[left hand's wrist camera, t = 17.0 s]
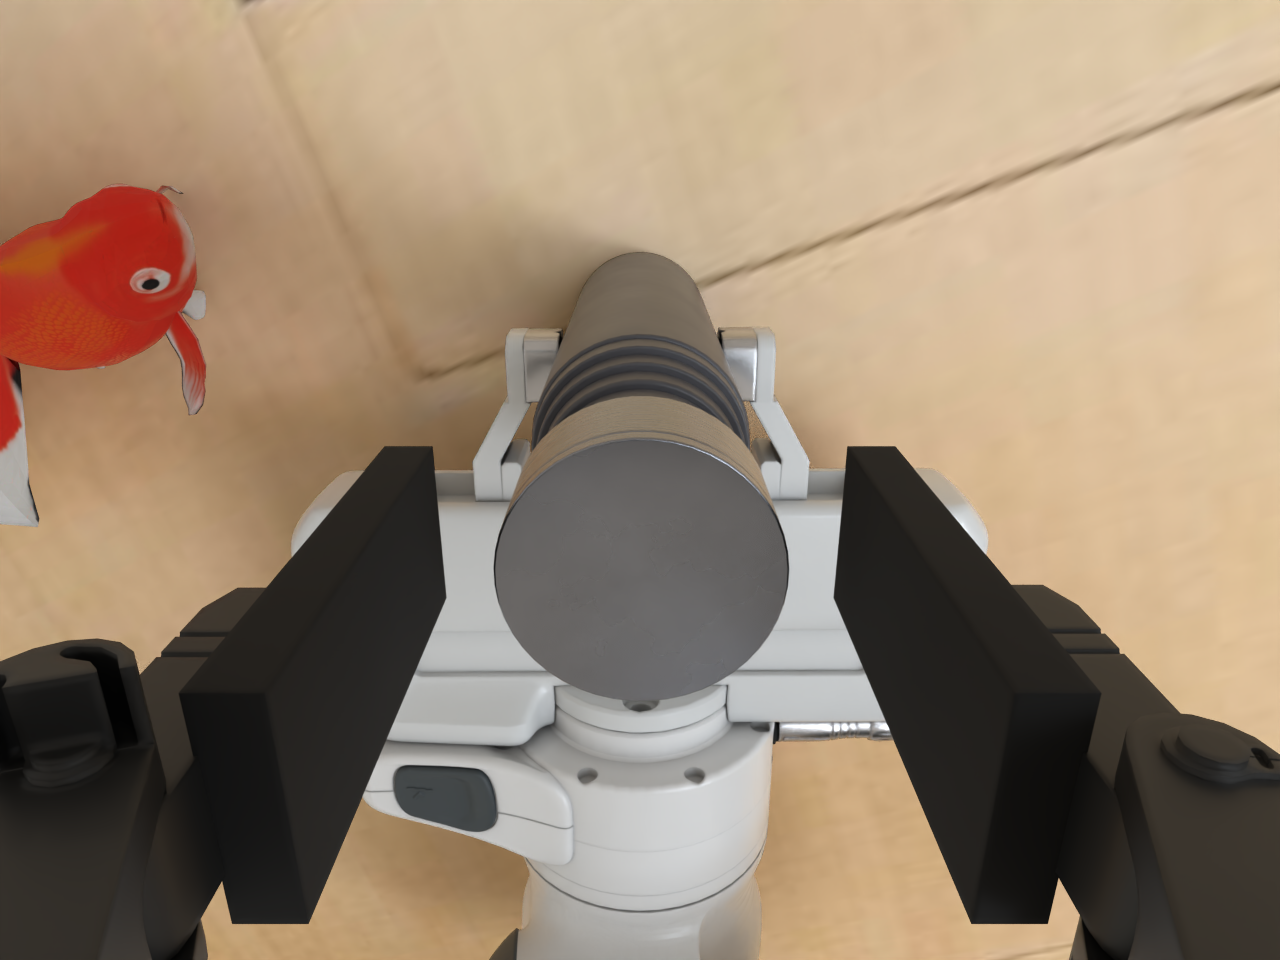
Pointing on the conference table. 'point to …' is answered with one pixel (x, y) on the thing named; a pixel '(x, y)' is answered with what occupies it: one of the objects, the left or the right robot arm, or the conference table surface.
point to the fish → (93, 307)
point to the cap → (641, 551)
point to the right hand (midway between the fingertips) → (638, 330)
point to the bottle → (640, 346)
